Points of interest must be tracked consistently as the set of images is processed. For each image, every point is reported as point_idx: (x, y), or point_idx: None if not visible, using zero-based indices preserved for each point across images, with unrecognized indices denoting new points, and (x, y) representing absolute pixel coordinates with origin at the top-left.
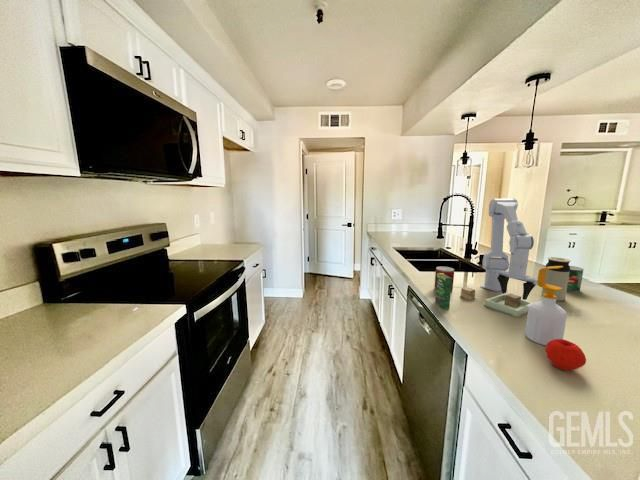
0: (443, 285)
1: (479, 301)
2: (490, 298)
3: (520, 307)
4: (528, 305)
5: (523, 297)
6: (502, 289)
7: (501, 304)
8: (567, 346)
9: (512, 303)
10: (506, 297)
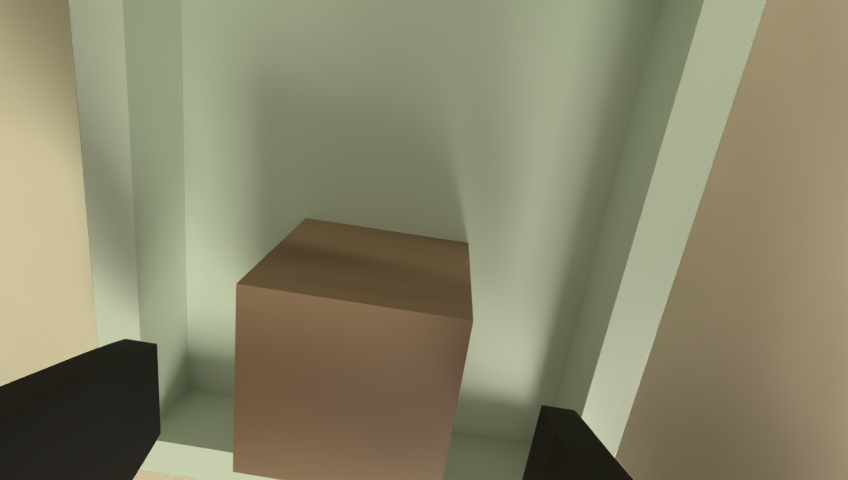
0: None
1: (840, 86)
2: (711, 102)
3: (124, 67)
4: (110, 297)
5: (101, 357)
6: (596, 468)
7: None
8: None
9: (336, 242)
10: (446, 293)
